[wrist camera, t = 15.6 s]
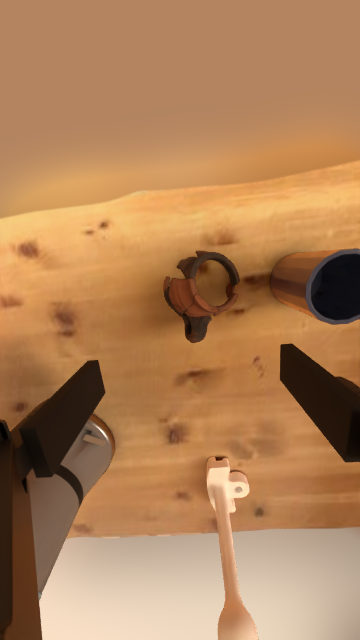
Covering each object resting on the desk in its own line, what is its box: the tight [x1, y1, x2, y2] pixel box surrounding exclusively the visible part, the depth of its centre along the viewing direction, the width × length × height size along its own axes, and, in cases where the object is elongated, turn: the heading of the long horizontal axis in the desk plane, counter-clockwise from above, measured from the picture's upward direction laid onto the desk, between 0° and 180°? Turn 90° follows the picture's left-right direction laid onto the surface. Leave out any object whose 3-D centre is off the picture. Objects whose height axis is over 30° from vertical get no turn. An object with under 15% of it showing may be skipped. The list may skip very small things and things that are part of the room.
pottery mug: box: [163, 251, 240, 343], centre depth 29 cm, size 12×10×8 cm
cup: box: [270, 248, 360, 325], centre depth 25 cm, size 7×7×10 cm
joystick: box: [206, 457, 258, 640], centre depth 31 cm, size 11×8×20 cm
